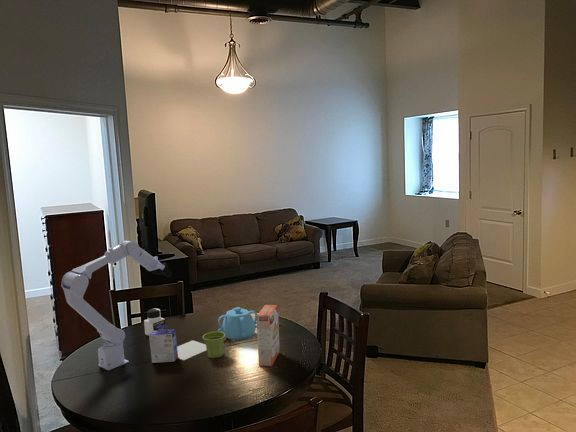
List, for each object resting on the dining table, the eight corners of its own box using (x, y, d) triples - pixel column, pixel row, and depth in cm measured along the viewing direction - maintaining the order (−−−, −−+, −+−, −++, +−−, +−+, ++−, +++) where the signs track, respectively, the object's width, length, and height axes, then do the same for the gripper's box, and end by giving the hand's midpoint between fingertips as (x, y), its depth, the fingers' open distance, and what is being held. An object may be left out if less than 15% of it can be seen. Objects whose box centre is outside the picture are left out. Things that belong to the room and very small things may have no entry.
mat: (183, 360, 196) (183, 360, 196) (163, 353, 205) (163, 352, 205) (213, 347, 208) (213, 347, 208) (192, 341, 217) (192, 340, 217)
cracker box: (273, 367, 186) (270, 315, 184) (258, 366, 188) (255, 315, 185) (280, 352, 200) (278, 304, 197) (266, 352, 201) (264, 304, 199)
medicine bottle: (154, 337, 224) (152, 312, 223) (144, 334, 228) (142, 310, 227) (166, 332, 230) (164, 308, 228) (157, 330, 234) (155, 306, 233)
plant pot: (199, 358, 198) (197, 338, 197) (213, 349, 206) (211, 330, 205) (217, 361, 194) (216, 341, 193) (230, 352, 202) (229, 333, 201)
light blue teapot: (214, 339, 218) (212, 311, 216) (235, 328, 232) (233, 301, 230) (242, 345, 210) (240, 315, 208) (263, 333, 223) (261, 305, 221)
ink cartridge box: (178, 356, 200) (175, 323, 198) (175, 362, 195) (171, 328, 193) (155, 357, 201) (151, 324, 199) (151, 363, 195) (147, 329, 193)
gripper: (158, 252, 201) (180, 268, 210) (139, 249, 211) (161, 264, 220) (150, 267, 199) (172, 282, 207) (131, 263, 208) (153, 278, 217)
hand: (165, 274), depth 213 cm, fingers open, 7 cm apart
